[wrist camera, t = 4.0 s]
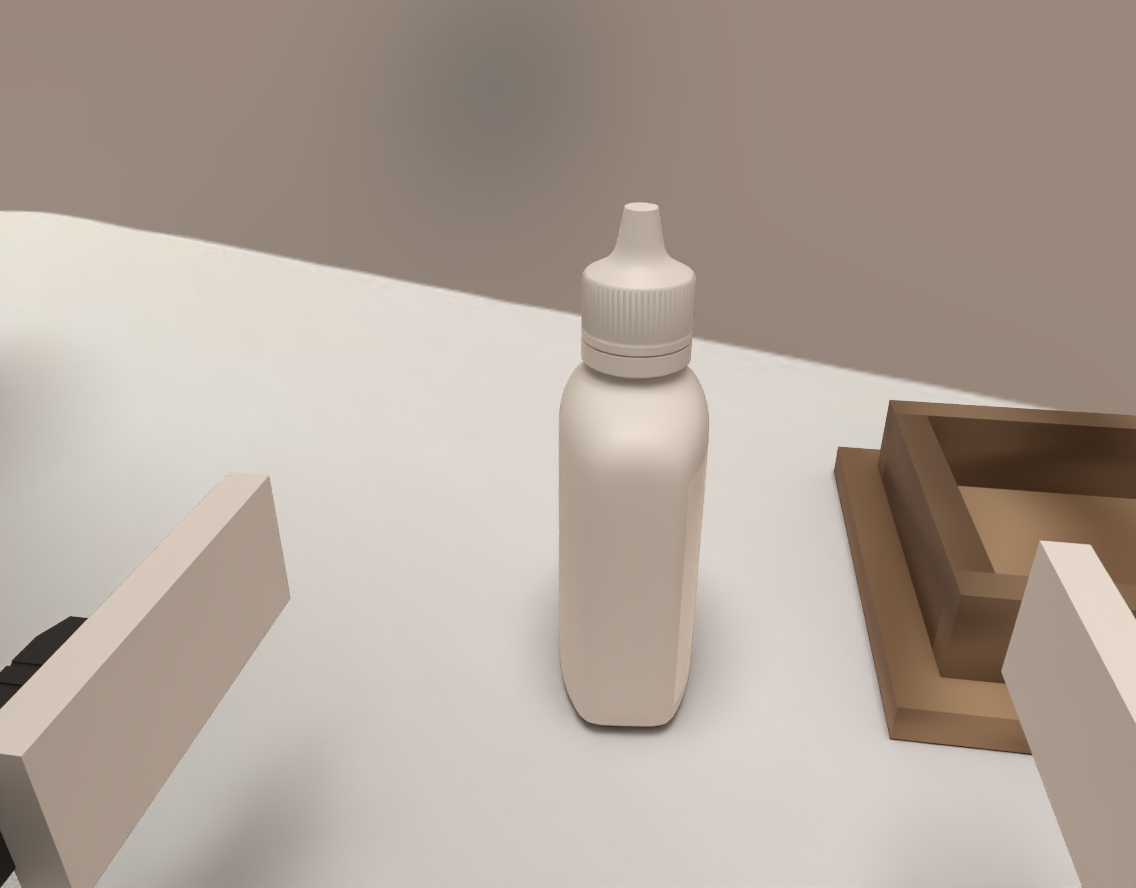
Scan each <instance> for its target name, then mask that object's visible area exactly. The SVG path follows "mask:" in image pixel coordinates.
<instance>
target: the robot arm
mask: <svg viewBox="0 0 1136 888" xmlns="http://www.w3.org/2000/svg"><path fill="white" fill-rule="evenodd" d="M289 600H290V592H289V586H288V581H287V575H286V569H285V563H284V558H283V552H282V546H281V541H280V535H279V529H278V523H277V518H276V512H275V506H274V501H273V495H272V489H271V483H270V478H269V475H258V474H246V473H235V472H229V473H228V474H227V475H226V476H225V477H224V478H223V479H222V480H221V481H220V482H219V483H218V484H217V485H216V486H215V487H214V488H213V489H212V490H211V491H210V492H209V494H208V495H207V496H206V497H205V498H204V499H203V500H202V501H201V502H200V503H199V504H198V505H197V506H196V507H195V508H194V509H193V510H192V511H191V512H190V513H189V514H188V515H187V516H186V517H185V518H184V519H183V520H182V522H181V523H180V524H179V525H178V526H177V527H176V528H175V529H174V530H173V531H172V532H171V533H170V534H169V535H168V536H167V537H166V538H165V539H164V540H163V541H162V542H161V543H160V544H159V545H158V546H157V547H156V548H155V550H154V551H153V552H152V553H151V554H150V555H149V556H148V557H147V558H146V559H145V560H144V561H143V562H142V563H141V564H140V565H139V566H138V567H137V568H136V569H135V570H134V571H133V572H132V573H131V574H130V575H129V576H128V578H127V579H126V580H125V581H124V582H123V583H122V584H121V585H120V586H119V587H118V588H117V589H116V590H115V591H114V592H113V593H112V594H111V595H110V596H109V597H108V598H107V599H106V600H105V601H104V602H103V603H102V604H101V606H100V607H99V608H98V609H97V610H96V611H95V612H94V613H93V614H92V615H91V616H90V617H89V618H81V617H72V616H70V617H68V618H67V619H65V620H63V621H62V622H60V623H58V624H57V625H55V626H53V627H52V628H50V629H48V630H47V631H45V632H43V633H41V634H40V635H38V636H36V637H35V638H34V639H33V640H32V641H31V642H30V643H29V644H28V645H27V646H26V647H25V648H24V649H23V650H22V651H21V652H20V653H19V654H18V655H17V656H16V657H15V658H14V659H13V660H12V664H11V666H6V667H5V668H4V669H3V670H2V671H1V672H0V888H1V886H2V885H3V884H4V883H5V881H6V880H7V879H8V877H9V876H10V875H11V874H12V872H13V871H15V873H16V875H17V878H18V880H19V882H20V885H21V887H22V888H93V887H94V886H95V885H96V883H97V882H98V880H99V879H100V877H101V876H102V874H103V873H104V871H105V870H106V868H107V867H108V865H109V864H110V863H111V861H112V860H113V858H114V857H115V855H116V854H117V852H118V851H119V849H120V848H121V846H122V845H123V843H124V842H125V841H126V839H127V838H128V836H129V835H130V833H131V832H132V830H133V829H134V827H135V826H136V824H137V823H138V821H139V820H140V819H141V817H142V816H143V814H144V813H145V811H146V810H147V808H148V807H149V805H150V804H151V802H152V801H153V799H154V798H155V796H156V795H157V794H158V792H159V791H160V789H161V788H162V786H163V785H164V783H165V782H166V780H167V779H168V777H169V776H170V774H171V773H172V772H173V770H174V769H175V767H176V766H177V764H178V763H179V761H180V760H181V758H182V757H183V755H184V754H185V752H186V751H187V750H188V748H189V747H190V745H191V744H192V742H193V741H194V739H195V738H196V736H197V735H198V733H199V732H200V730H201V729H202V728H203V726H204V725H205V723H206V722H207V720H208V719H209V717H210V716H211V714H212V713H213V711H214V710H215V708H216V707H217V705H218V704H219V703H220V701H221V700H222V698H223V697H224V695H225V694H226V692H227V691H228V689H229V688H230V686H231V685H232V683H233V682H234V681H235V679H236V678H237V676H238V675H239V673H240V672H241V670H242V669H243V667H244V666H245V664H246V663H247V661H248V660H249V659H250V657H251V656H252V654H253V653H254V651H255V650H256V648H257V647H258V645H259V644H260V642H261V641H262V639H263V638H264V637H265V635H266V634H267V632H268V631H269V629H270V628H271V626H272V625H273V623H274V622H275V620H276V619H277V617H278V616H279V614H280V613H281V612H282V610H283V609H284V607H285V606H286V604H287V603H288V601H289ZM1001 672H1002V675H1003V678H1004V680H1005V683H1006V686H1007V688H1008V691H1009V694H1010V696H1011V699H1012V702H1013V704H1014V707H1015V710H1016V712H1017V715H1018V718H1019V720H1020V723H1021V726H1022V728H1023V731H1024V734H1025V736H1026V739H1027V742H1028V744H1029V747H1030V750H1031V752H1032V755H1033V758H1034V760H1035V763H1036V766H1037V768H1038V771H1039V774H1040V776H1041V779H1042V782H1043V784H1044V787H1045V790H1046V792H1047V795H1048V798H1049V800H1050V803H1051V806H1052V808H1053V811H1054V814H1055V816H1056V819H1057V822H1058V824H1059V827H1060V830H1061V832H1062V835H1063V838H1064V840H1065V843H1066V846H1067V848H1068V851H1069V854H1070V856H1071V859H1072V862H1073V864H1074V867H1075V870H1076V872H1077V875H1078V878H1079V880H1080V883H1081V886H1082V888H1136V619H1135V617H1134V616H1133V614H1132V612H1131V611H1130V609H1129V607H1128V606H1127V604H1126V602H1125V601H1124V599H1123V598H1122V596H1121V594H1120V593H1119V591H1118V589H1117V588H1116V586H1115V584H1114V583H1113V581H1112V579H1111V578H1110V576H1109V574H1108V573H1107V571H1106V569H1105V568H1104V566H1103V565H1102V563H1101V561H1100V560H1099V558H1098V556H1097V555H1096V553H1095V551H1094V550H1093V548H1092V546H1091V545H1088V544H1076V543H1064V542H1052V541H1041V540H1040V541H1039V545H1038V548H1037V552H1036V555H1035V558H1034V562H1033V565H1032V569H1031V572H1030V575H1029V579H1028V582H1027V586H1026V589H1025V592H1024V596H1023V599H1022V602H1021V606H1020V609H1019V613H1018V616H1017V619H1016V623H1015V626H1014V630H1013V633H1012V636H1011V640H1010V643H1009V647H1008V650H1007V653H1006V657H1005V660H1004V664H1003V667H1002V670H1001Z"/></svg>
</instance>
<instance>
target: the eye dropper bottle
mask: <svg viewBox="0 0 1136 888" xmlns="http://www.w3.org/2000/svg"><path fill="white" fill-rule="evenodd" d="M695 288H696V275H695V273H694V272H693V271H692V270H691V269H690V268H689V267H688V266H686V265H685V264H683V263H680V262H678V261H676V260H674V259H672V258H671V257H670V256H668V254H667V252H666V250H665V247H664V242H663V235H662V228H661V221H660V214H659V207H658V206H657V205H655V204H651V203H630V204H627V205H625V207H624V212H623V217H622V221H621V226H620V230H619V235H618V240H617V243H616V247H615V249H614V250H613V252H612V253H611V255H609V256H608V257H606V258H604V259H601V260H599V261H596V262H594V263H592V264H590V265H589V266H588V267H587V268H586V269H585V270H584V271H583V273H582V338H581V357H582V360H583V362H582V363H581V364H580V365H578V366H577V368H576V369H575V370H574V371H573V373H572V374H571V376H570V378H569V380H568V382H567V384H566V386H565V389H564V392H563V394H562V399H561V404H560V411H559V650H560V664H561V671H562V675H563V679H564V683H565V686H566V689H567V692H568V694H569V697H570V699H571V701H572V703H573V705H574V707H575V709H576V710H577V712H578V713H579V715H580V716H581V717H582V718H583V719H585V720H586V721H587V722H589V723H593V724H597V725H609V726H658V725H663V724H665V723H667V722H668V721H669V720H671V719H672V717H673V716H674V714H675V713H676V711H677V709H678V707H679V705H680V703H681V701H682V698H683V695H684V692H685V689H686V685H687V681H688V676H689V670H690V659H691V648H692V636H693V624H694V612H695V600H696V588H697V576H698V564H699V552H700V540H701V528H702V516H703V504H704V492H705V479H706V467H707V454H708V441H709V413H708V406H707V401H706V398H705V394H704V391H703V389H702V386H701V384H700V382H699V380H698V378H697V377H696V375H695V374H694V372H693V371H692V370H691V369H690V368H689V367H688V366H687V365H688V364H689V362H690V359H691V346H692V330H693V316H694V302H695Z"/></svg>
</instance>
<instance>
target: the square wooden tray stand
mask: <svg viewBox="0 0 1136 888" xmlns="http://www.w3.org/2000/svg"><path fill="white" fill-rule="evenodd" d="M834 473H835V477H836V482H837V487H838V492H839V496H840V501H841V506H842V511H843V515H844V520H845V525H846V530H847V534H848V539H849V544H850V549H851V553H852V558H853V563H854V568H855V572H856V577H857V582H858V587H859V591H860V596H861V601H862V606H863V610H864V615H865V620H866V625H867V629H868V634H869V639H870V644H871V648H872V653H873V658H874V663H875V667H876V672H877V677H878V682H879V686H880V691H881V696H882V701H883V705H884V710H885V715H886V720H887V724H888V729H889V734H890V738H892V739H901V740H910V741H919V742H928V743H938V744H947V745H956V746H965V747H974V748H983V749H992V750H1001V751H1010V752H1019V753H1028V754H1032V752H1031V750H1030V747H1029V744H1028V742H1027V739H1026V736H1025V734H1024V731H1023V728H1022V726H1021V723H1020V720H1019V718H1018V715H1017V712H1016V710H1015V707H1014V704H1013V702H1012V699H1011V696H1010V694H1009V691H1008V688H1007V686H1006V683H1005V680H1004V678H1003V675H1002V672H1001V670H1002V667H1003V664H1004V660H1005V657H1006V653H1007V650H1008V647H1009V643H1010V640H1011V636H1012V633H1013V630H1014V626H1015V623H1016V619H1017V616H1018V613H1019V609H1020V606H1021V602H1022V599H1023V596H1024V592H1025V589H1026V586H1027V582H1028V579H1029V575H1030V572H1031V569H1032V565H1033V562H1034V558H1035V555H1036V552H1037V548H1038V545H1039V541H1040V540H1041V541H1052V542H1064V543H1076V544H1088V545H1091V546H1092V548H1093V550H1094V551H1095V553H1096V555H1097V556H1098V558H1099V560H1100V561H1101V563H1102V565H1103V566H1104V568H1105V569H1106V571H1107V573H1108V574H1109V576H1110V578H1111V579H1112V581H1113V583H1114V584H1115V586H1116V588H1117V589H1118V591H1119V593H1120V594H1121V596H1122V598H1123V599H1124V601H1125V602H1126V604H1127V606H1128V607H1129V609H1130V611H1131V612H1132V614H1133V616H1134V617H1135V619H1136V416H1132V415H1117V414H1101V413H1085V412H1070V411H1054V410H1038V409H1023V408H1007V407H991V406H976V405H960V404H944V403H929V402H913V401H897V400H890V401H889V407H888V412H887V417H886V423H885V428H884V434H883V439H882V444H881V450H877V449H863V448H848V447H838V450H837V457H836V463H835V469H834Z"/></svg>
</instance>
